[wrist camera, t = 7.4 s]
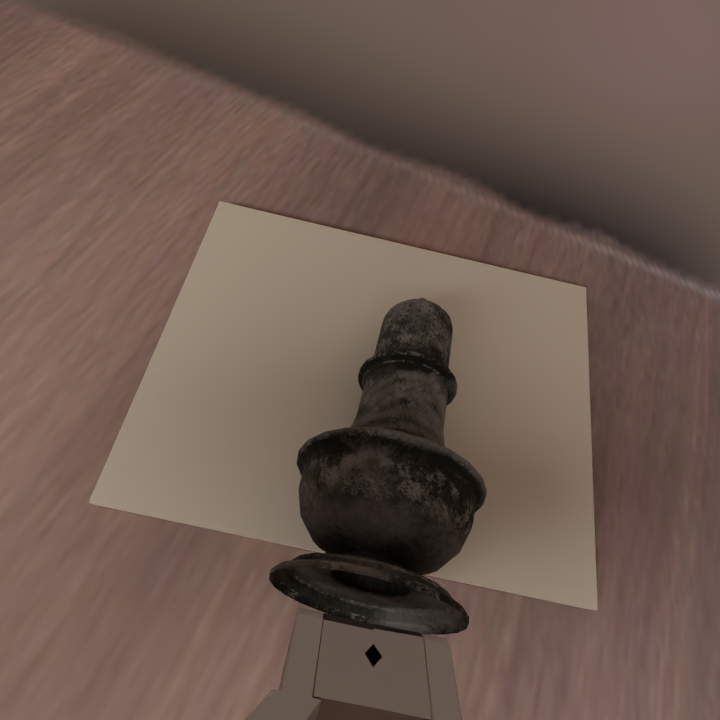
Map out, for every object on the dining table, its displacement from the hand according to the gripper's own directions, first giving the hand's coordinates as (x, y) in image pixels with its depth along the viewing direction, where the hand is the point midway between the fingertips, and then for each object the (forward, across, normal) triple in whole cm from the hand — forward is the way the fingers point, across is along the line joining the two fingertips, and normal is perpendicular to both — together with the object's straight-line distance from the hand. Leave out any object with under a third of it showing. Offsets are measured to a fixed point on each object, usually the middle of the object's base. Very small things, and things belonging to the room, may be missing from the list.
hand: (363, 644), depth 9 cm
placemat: (+12, 0, -1) cm, 12 cm away
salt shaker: (+2, 0, +2) cm, 3 cm away
